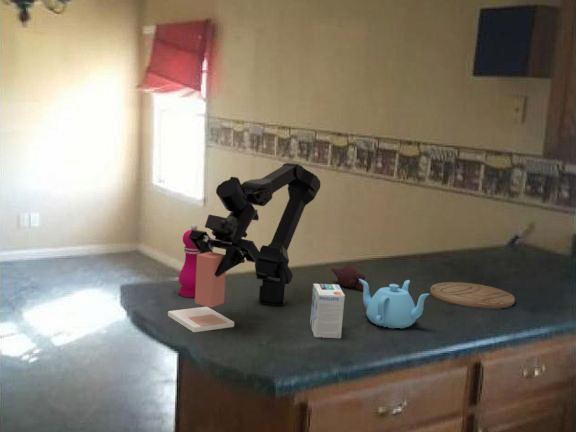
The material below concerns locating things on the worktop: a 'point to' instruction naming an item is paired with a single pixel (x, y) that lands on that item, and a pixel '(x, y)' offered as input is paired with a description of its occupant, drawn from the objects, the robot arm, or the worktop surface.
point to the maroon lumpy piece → (349, 277)
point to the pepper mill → (189, 266)
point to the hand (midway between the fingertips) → (207, 273)
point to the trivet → (472, 295)
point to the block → (209, 280)
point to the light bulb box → (327, 310)
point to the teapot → (392, 306)
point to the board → (200, 319)
